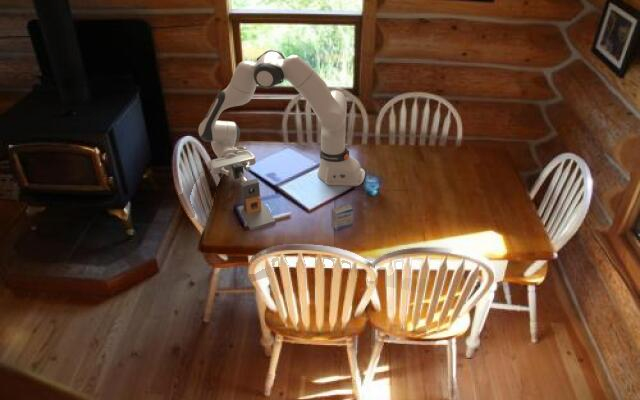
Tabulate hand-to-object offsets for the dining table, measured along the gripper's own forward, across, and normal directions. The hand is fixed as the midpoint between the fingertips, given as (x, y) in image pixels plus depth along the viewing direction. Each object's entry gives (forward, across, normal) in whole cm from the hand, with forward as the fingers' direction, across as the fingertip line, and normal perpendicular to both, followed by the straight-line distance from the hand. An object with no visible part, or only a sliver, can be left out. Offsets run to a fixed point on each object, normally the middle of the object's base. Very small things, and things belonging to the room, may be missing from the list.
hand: (238, 171), depth 230 cm
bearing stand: (+20, 0, +11) cm, 23 cm away
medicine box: (+41, +30, +11) cm, 52 cm away
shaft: (+6, 0, +3) cm, 7 cm away
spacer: (+18, 0, +10) cm, 20 cm away
